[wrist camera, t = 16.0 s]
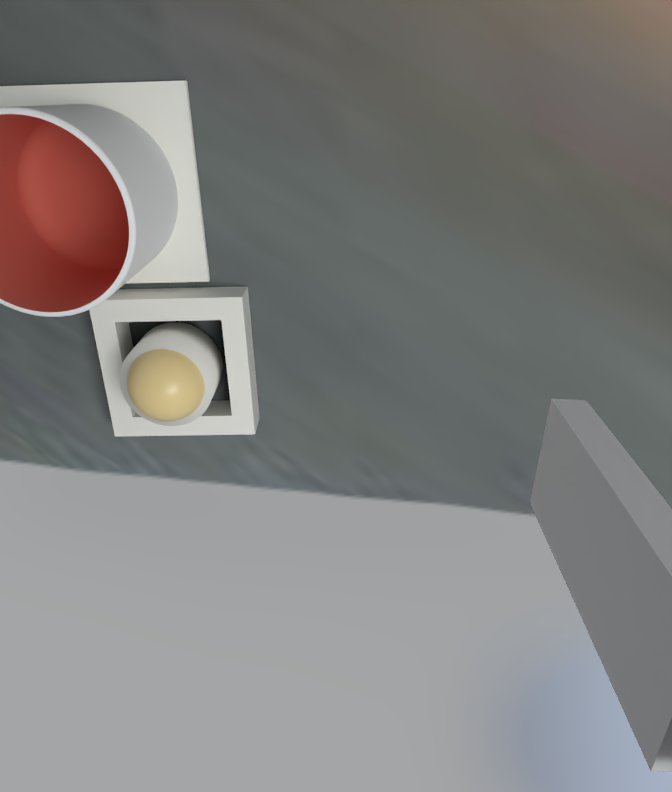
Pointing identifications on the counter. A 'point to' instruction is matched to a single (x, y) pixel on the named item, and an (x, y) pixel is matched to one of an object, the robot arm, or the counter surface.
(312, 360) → the counter surface
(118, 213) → the cup
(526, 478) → the counter surface
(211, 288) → the dome base
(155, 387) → the dome
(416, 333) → the counter surface
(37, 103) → the pad
